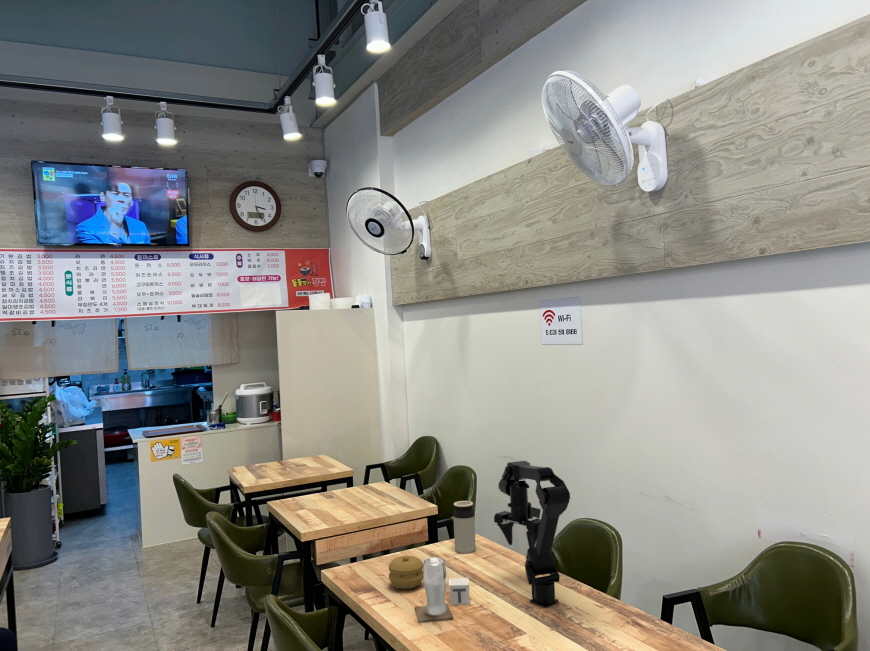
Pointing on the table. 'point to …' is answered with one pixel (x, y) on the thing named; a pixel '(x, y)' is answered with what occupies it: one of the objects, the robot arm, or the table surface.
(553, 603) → the robot arm
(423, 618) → the coaster
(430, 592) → the beer glass
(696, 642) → the table surface
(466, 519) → the travel mug
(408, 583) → the pot
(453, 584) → the letter block
